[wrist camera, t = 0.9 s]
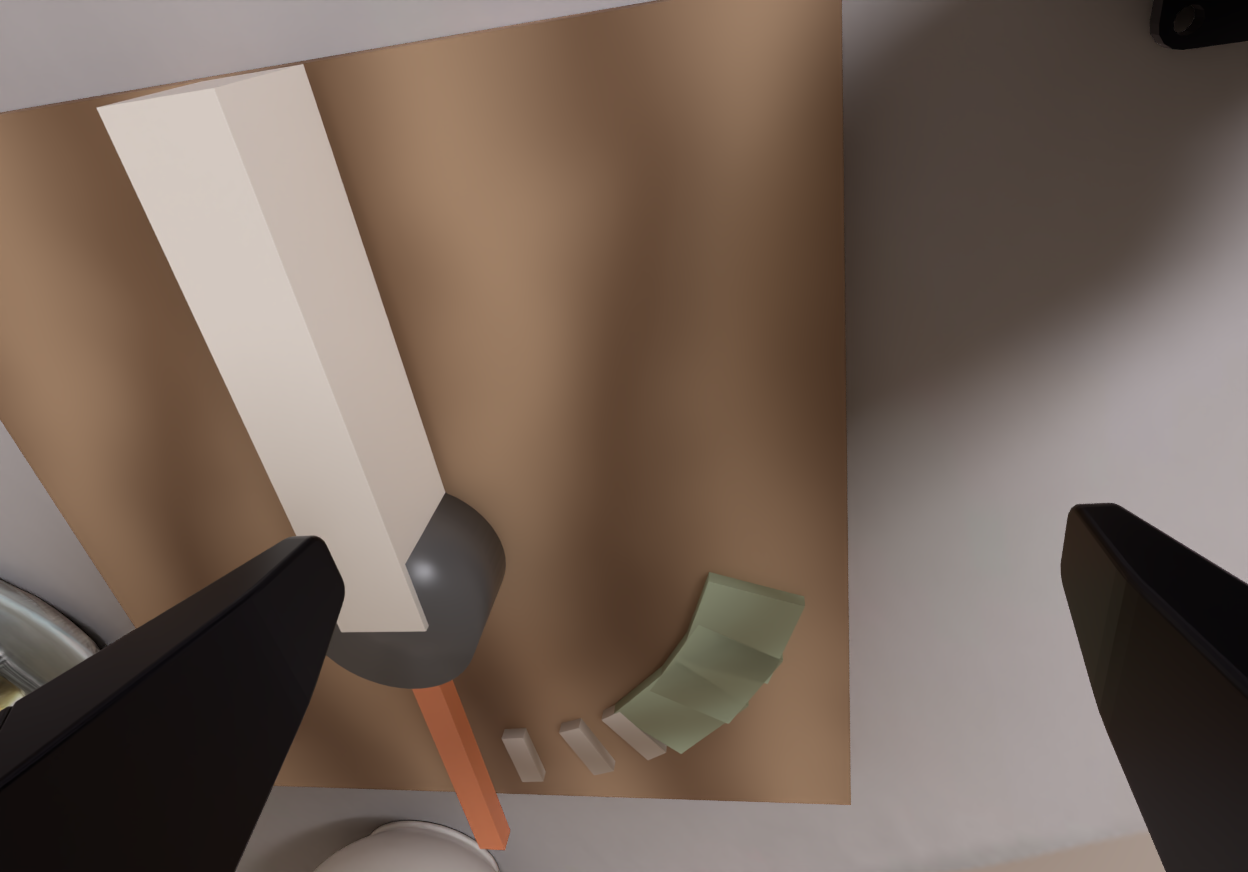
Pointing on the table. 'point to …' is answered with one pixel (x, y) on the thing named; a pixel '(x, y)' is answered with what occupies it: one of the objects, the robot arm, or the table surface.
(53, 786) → the robot arm
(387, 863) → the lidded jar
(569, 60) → the cutting board
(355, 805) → the table surface
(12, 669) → the salad plate
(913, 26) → the table surface
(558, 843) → the table surface
